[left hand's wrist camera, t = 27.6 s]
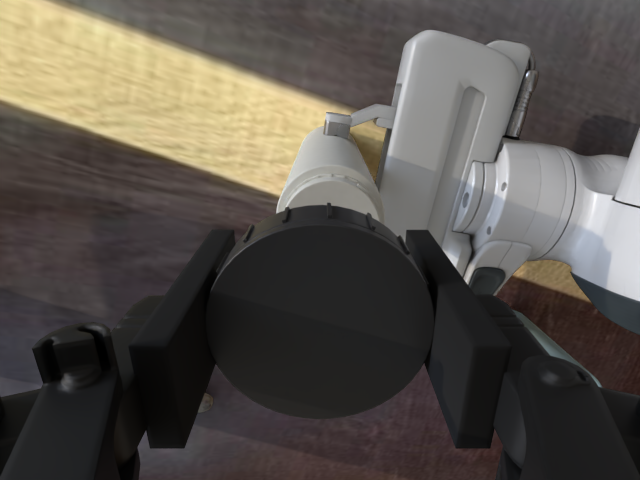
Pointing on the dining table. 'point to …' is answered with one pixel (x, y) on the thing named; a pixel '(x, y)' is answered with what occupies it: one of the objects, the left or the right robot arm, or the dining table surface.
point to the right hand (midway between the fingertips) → (317, 168)
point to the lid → (319, 313)
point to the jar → (331, 177)
